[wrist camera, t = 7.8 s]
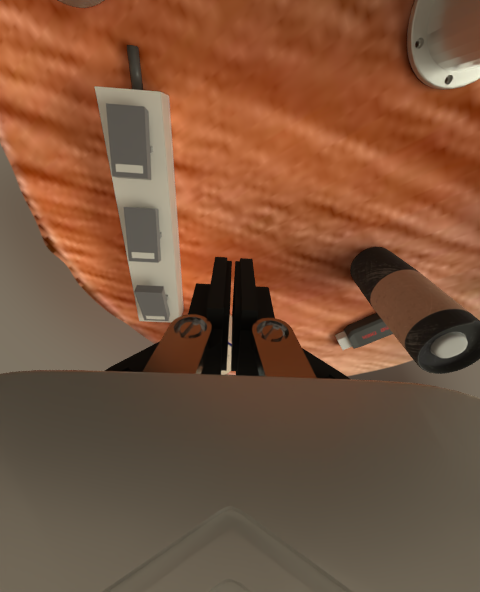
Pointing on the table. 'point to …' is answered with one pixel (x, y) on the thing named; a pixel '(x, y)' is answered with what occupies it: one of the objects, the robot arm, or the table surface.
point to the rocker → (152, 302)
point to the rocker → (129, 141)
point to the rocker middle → (142, 234)
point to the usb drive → (363, 332)
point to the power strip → (150, 186)
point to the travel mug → (418, 312)
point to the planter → (81, 3)
